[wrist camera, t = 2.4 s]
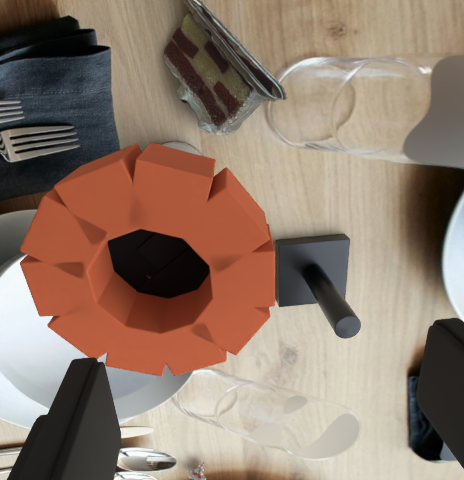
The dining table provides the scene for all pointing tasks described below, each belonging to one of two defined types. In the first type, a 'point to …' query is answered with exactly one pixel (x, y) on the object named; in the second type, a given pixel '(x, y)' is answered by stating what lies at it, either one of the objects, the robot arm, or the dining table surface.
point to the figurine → (197, 473)
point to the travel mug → (158, 257)
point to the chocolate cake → (217, 72)
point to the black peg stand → (316, 278)
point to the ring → (161, 221)
